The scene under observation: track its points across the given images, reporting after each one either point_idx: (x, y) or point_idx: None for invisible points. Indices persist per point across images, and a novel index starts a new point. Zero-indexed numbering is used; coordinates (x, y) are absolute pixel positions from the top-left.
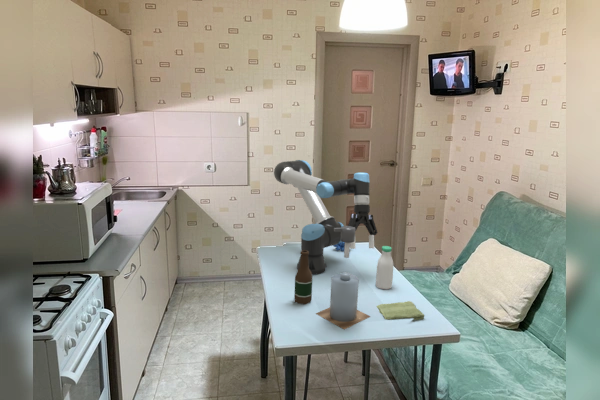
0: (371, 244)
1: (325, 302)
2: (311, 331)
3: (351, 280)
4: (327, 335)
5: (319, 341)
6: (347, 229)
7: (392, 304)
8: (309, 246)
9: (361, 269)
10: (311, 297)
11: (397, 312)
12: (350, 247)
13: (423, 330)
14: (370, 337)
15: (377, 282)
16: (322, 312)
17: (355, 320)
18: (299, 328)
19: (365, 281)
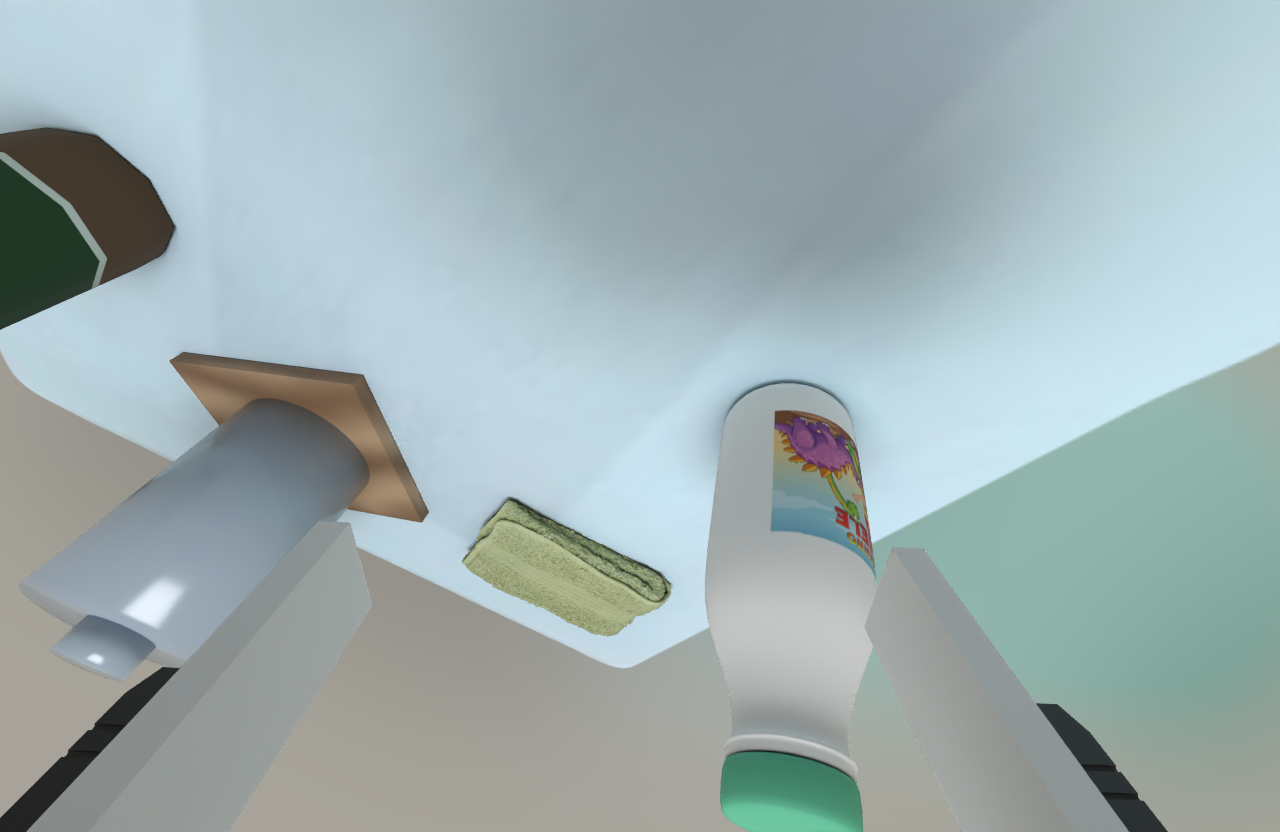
0: (906, 664)
1: (275, 295)
2: (151, 410)
3: (160, 653)
4: None
5: (176, 458)
6: None
7: (557, 566)
8: None
9: (1135, 4)
10: (139, 250)
11: (527, 587)
12: (307, 544)
13: (551, 626)
14: (362, 545)
15: (724, 436)
16: (209, 377)
17: None
18: (96, 366)
19: (766, 290)
